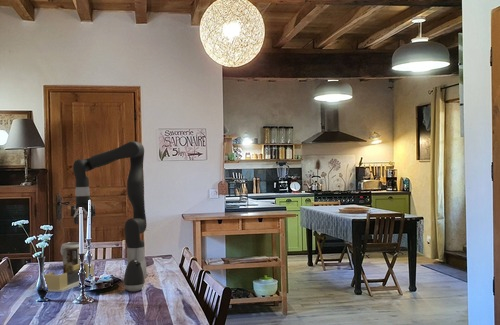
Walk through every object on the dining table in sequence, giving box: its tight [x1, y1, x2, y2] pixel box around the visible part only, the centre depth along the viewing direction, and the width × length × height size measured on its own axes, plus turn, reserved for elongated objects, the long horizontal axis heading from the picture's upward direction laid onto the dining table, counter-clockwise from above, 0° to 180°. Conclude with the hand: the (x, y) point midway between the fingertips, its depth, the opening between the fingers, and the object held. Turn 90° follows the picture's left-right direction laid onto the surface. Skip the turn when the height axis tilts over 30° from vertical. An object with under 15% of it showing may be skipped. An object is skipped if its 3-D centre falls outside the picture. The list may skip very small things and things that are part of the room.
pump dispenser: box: [123, 260, 146, 293], centre depth 238 cm, size 10×10×15 cm
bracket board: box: [43, 263, 94, 293], centre depth 255 cm, size 12×30×8 cm, turn 165°
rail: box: [67, 269, 85, 285], centre depth 255 cm, size 5×22×5 cm, turn 165°
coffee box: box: [62, 247, 80, 274], centre depth 275 cm, size 9×6×16 cm
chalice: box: [60, 241, 80, 256], centre depth 301 cm, size 14×14×15 cm
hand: (83, 224), depth 269 cm, fingers open, 8 cm apart
